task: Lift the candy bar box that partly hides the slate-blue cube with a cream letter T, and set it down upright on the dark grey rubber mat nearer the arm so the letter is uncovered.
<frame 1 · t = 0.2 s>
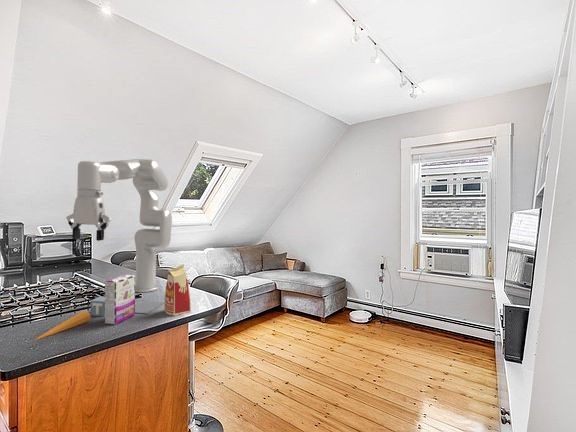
hand: (88, 239, 122), 31 cm above the counter, tool pointing down, fingers open, 9 cm apart
letter cube: (102, 313, 131), on the counter
candy bar box: (119, 320, 125), on the counter
milk carton: (176, 312, 136), on the counter
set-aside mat: (145, 307, 140), on the counter
carrot: (62, 330, 113), on the counter
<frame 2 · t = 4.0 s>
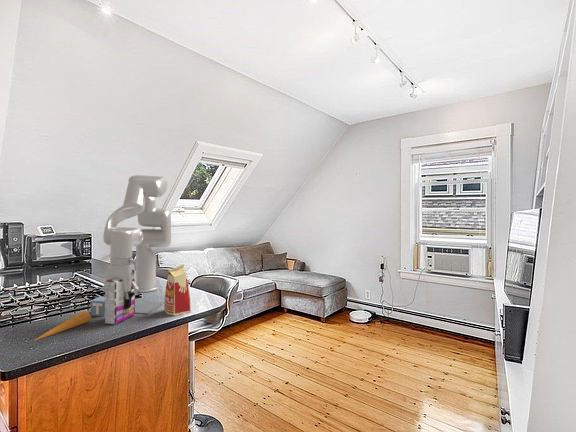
hand: (120, 307, 125), 5 cm above the counter, tool pointing down, fingers closed on candy bar box, 5 cm apart
candy bar box: (119, 319, 125), on the counter, touching gripper
everything else where it was.
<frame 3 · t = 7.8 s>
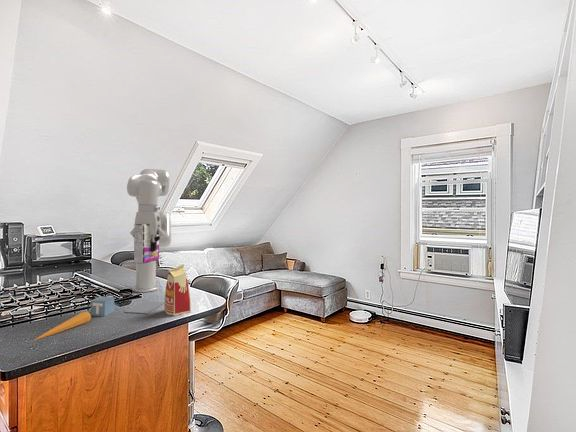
hand: (146, 250, 139), 25 cm above the counter, tool pointing down, fingers closed on candy bar box, 5 cm apart
candy bar box: (146, 261, 139), point 20 cm above the counter, touching gripper
everything else where it was.
when the fingers open (6 cm above the counter, at t = 12.0 s): candy bar box drops 1 cm, resting on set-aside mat.
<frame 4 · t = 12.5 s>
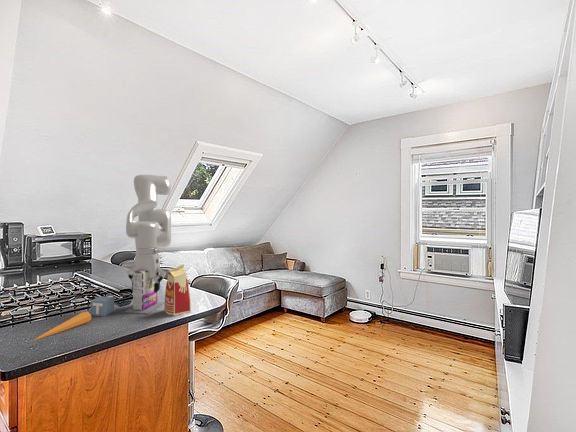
hand: (145, 290, 139), 7 cm above the counter, tool pointing down, fingers open, 9 cm apart
candy bar box: (144, 306, 140), resting on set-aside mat
everything else where it was.
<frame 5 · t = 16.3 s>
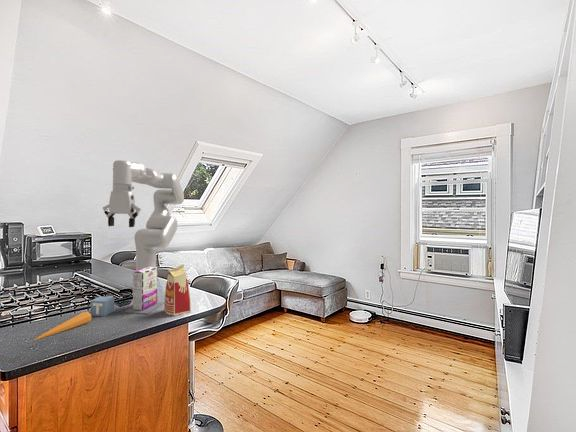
hand: (121, 226, 145), 34 cm above the counter, tool pointing down, fingers open, 9 cm apart
nothing on the counter moved.
at the end: candy bar box inside the target area on the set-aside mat (0.3 cm from its centre), point 0.2 cm above the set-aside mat's base; candy bar box tilted 0°; letter cube moved 0.1 cm from its start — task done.
